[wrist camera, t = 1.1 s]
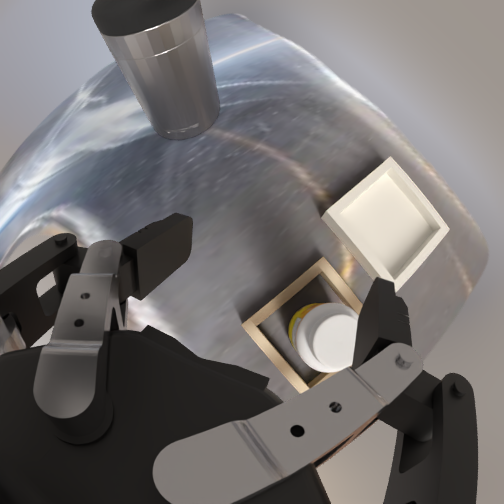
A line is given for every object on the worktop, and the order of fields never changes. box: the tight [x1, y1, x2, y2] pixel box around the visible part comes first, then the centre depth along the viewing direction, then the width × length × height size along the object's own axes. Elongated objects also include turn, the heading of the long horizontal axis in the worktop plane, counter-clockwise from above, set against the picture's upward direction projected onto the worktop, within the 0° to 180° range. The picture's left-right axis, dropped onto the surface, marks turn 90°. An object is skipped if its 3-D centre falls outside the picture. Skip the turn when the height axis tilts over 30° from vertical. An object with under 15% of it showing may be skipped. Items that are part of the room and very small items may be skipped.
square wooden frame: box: [241, 257, 363, 394], centre depth 28 cm, size 10×10×2 cm
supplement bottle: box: [288, 303, 359, 373], centre depth 23 cm, size 6×6×10 cm
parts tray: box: [321, 156, 450, 293], centre depth 29 cm, size 11×11×2 cm
